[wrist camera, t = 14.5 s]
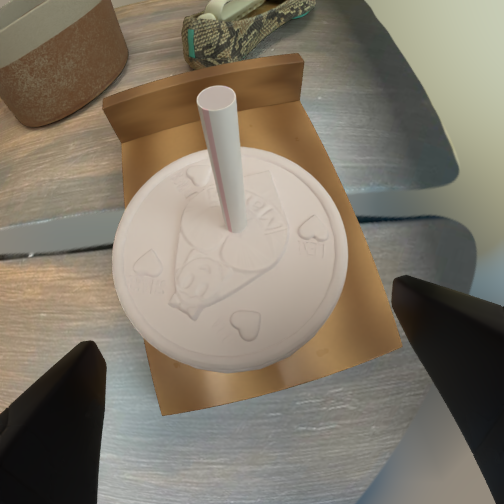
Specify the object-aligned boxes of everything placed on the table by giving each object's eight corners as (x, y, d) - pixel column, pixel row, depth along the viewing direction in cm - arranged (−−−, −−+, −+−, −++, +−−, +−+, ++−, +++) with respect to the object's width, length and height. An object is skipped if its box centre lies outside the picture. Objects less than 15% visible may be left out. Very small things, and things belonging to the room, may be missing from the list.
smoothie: (322, 286, 17) (454, 91, 4) (266, 388, 16) (294, 499, 2) (223, 234, 19) (167, 2, 5) (164, 328, 17) (-45, 222, 4)
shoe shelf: (292, 116, 25) (298, 52, 19) (384, 349, 19) (437, 340, 12) (132, 155, 25) (102, 98, 18) (175, 409, 18) (134, 429, 11)
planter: (27, 80, 31) (-13, 15, 18) (124, 31, 33) (99, -46, 20) (14, 153, 26) (-53, 74, 13) (138, 88, 28) (98, -23, 15)
